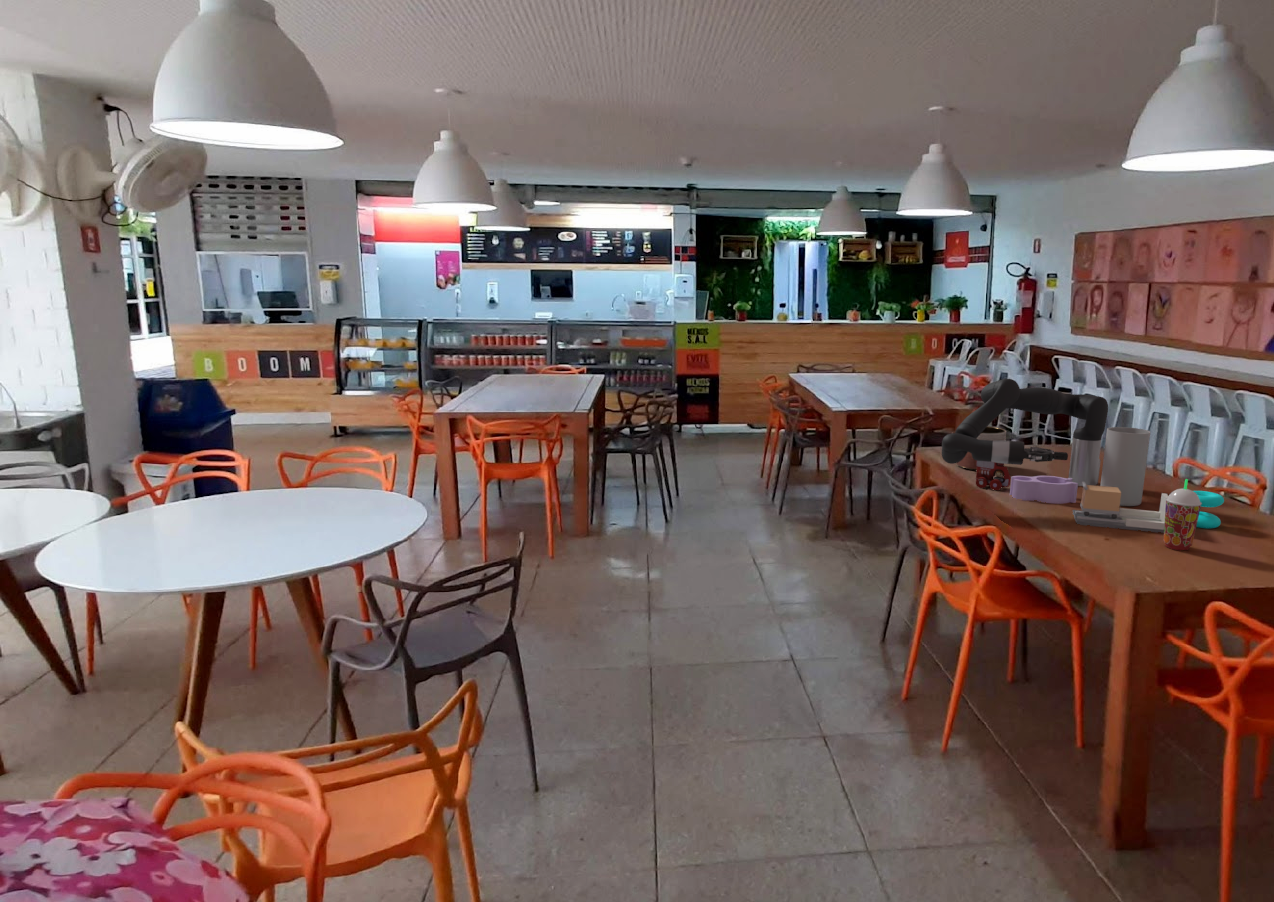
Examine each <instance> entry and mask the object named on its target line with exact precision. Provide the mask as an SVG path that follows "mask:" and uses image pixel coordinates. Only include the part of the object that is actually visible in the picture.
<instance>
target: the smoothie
mask: <svg viewBox="0 0 1274 902" xmlns="http://www.w3.org/2000/svg"><path fill="white" fill-rule="evenodd" d="M1188 481H1189V479H1188V478H1185V480H1184V485H1183V487H1182V488H1177V489H1175V490H1173V491H1171V492H1170V493H1169V495H1168V498H1166V508H1165V524H1164V533H1163V542H1164V547H1166V548H1168V549H1170V548H1171V549H1170V550H1174V549H1175V550H1174V551H1181V550H1185V551H1188V550H1190V547H1192V546H1193V542H1194V538H1195V535H1196V534H1195V533H1196V529H1197V527H1196V525H1197V521H1198V516H1199V512H1201V508H1202V507H1201V504H1202V503H1201V502H1200V500H1199V497H1198V495H1197V494H1196V493H1195V492H1193V491H1194V490H1191V489H1189V488H1188Z"/></svg>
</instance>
